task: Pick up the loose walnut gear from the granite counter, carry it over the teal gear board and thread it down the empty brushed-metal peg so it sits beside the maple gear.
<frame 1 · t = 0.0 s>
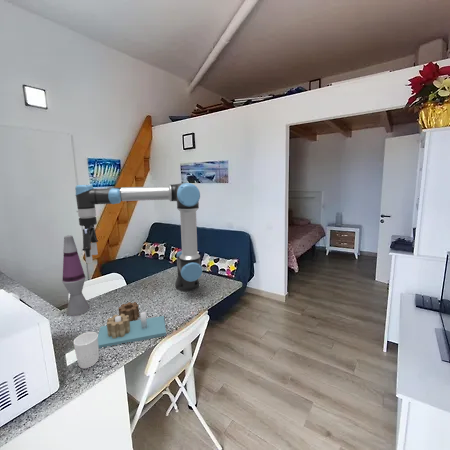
hand: (92, 258, 125), 28 cm above the kitchen counter, fingers open, 13 cm apart
walnut gear: (129, 317, 123), on the kitchen counter
white cup: (89, 362, 94), on the kitchen counter
maple gear: (119, 331, 109), resting on gear board
lamp: (78, 310, 130), on the kitchen counter
gear board: (132, 332, 111), on the kitchen counter
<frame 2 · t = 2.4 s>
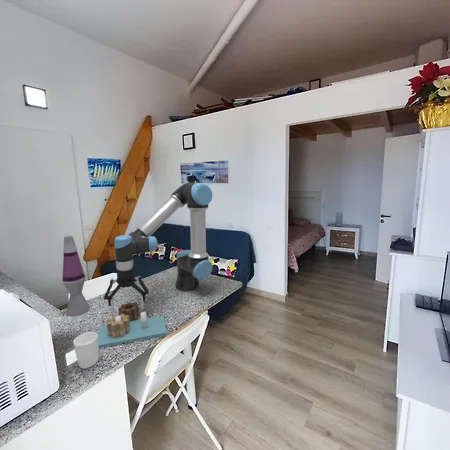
hand: (128, 309, 122), 5 cm above the kitchen counter, fingers open, 13 cm apart
nothing on the kitchen counter moved.
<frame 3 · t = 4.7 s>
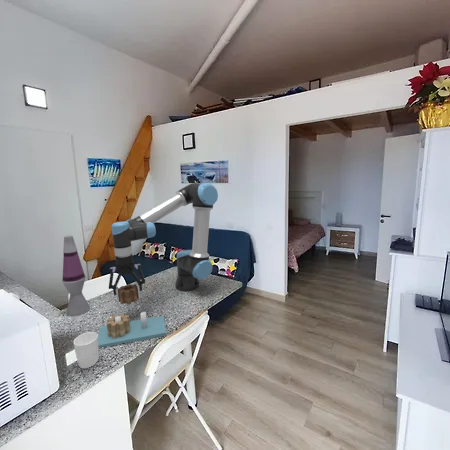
hand: (129, 298, 121), 10 cm above the kitchen counter, fingers closed on walnut gear, 9 cm apart
walnut gear: (129, 299, 121), point 10 cm above the kitchen counter, touching gripper
everything else where it was.
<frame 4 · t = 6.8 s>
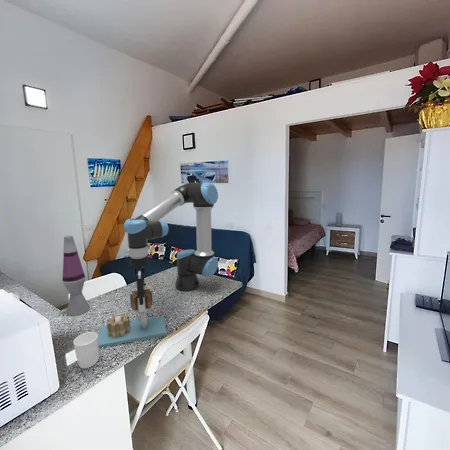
hand: (142, 305, 110), 13 cm above the kitchen counter, fingers closed on walnut gear, 9 cm apart
walnut gear: (142, 305, 110), point 12 cm above the kitchen counter, touching gripper
everything else where it was.
when the fingers open (2 cm above the kitchen counter, at t = 9.3 s): walnut gear stays where it is, resting on gear board.
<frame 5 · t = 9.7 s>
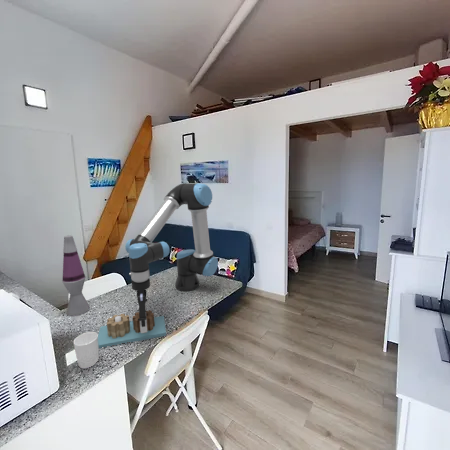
hand: (144, 323, 112), 3 cm above the kitchen counter, fingers open, 13 cm apart
walnut gear: (144, 327, 112), point 1 cm above the kitchen counter, touching gear board
everything else where it was.
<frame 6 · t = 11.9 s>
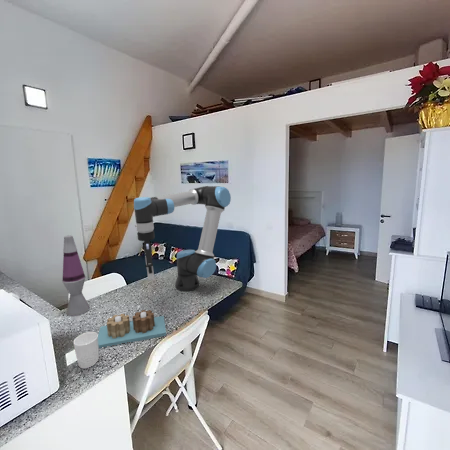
hand: (150, 273, 120), 22 cm above the kitchen counter, fingers open, 13 cm apart
nothing on the kitchen counter moved.
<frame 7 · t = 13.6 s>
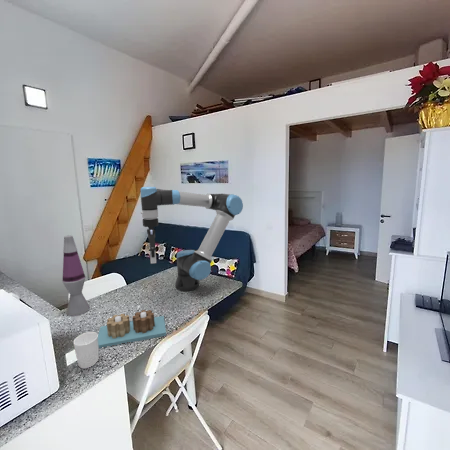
hand: (153, 258, 128), 27 cm above the kitchen counter, fingers open, 13 cm apart
nothing on the kitchen counter moved.
at the end: walnut gear 0.0 cm from the target spot on the gear board, point 1.5 cm above the gear board's base; walnut gear tilted 0°; the gripper is holding nothing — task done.
